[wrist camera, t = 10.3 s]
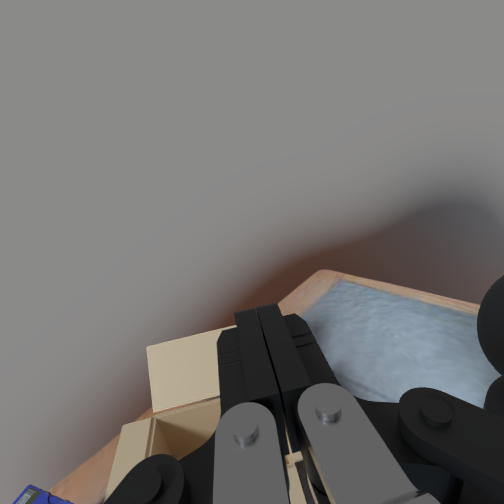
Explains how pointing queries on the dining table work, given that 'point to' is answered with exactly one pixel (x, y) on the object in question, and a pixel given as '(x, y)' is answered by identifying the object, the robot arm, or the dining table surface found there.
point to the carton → (180, 442)
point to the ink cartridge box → (38, 497)
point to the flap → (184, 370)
